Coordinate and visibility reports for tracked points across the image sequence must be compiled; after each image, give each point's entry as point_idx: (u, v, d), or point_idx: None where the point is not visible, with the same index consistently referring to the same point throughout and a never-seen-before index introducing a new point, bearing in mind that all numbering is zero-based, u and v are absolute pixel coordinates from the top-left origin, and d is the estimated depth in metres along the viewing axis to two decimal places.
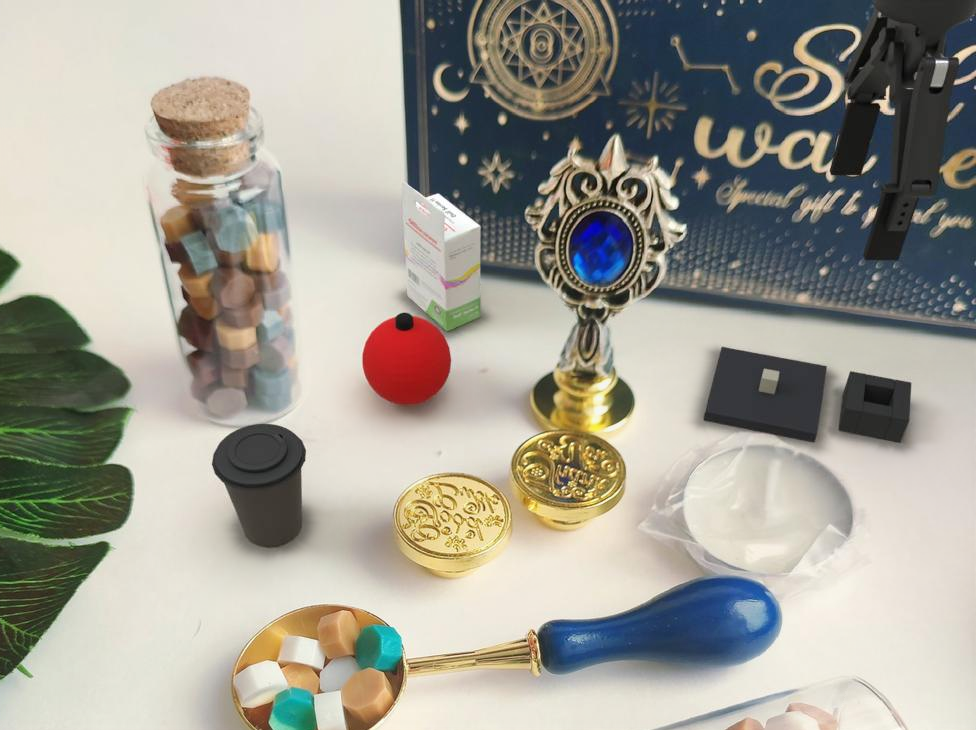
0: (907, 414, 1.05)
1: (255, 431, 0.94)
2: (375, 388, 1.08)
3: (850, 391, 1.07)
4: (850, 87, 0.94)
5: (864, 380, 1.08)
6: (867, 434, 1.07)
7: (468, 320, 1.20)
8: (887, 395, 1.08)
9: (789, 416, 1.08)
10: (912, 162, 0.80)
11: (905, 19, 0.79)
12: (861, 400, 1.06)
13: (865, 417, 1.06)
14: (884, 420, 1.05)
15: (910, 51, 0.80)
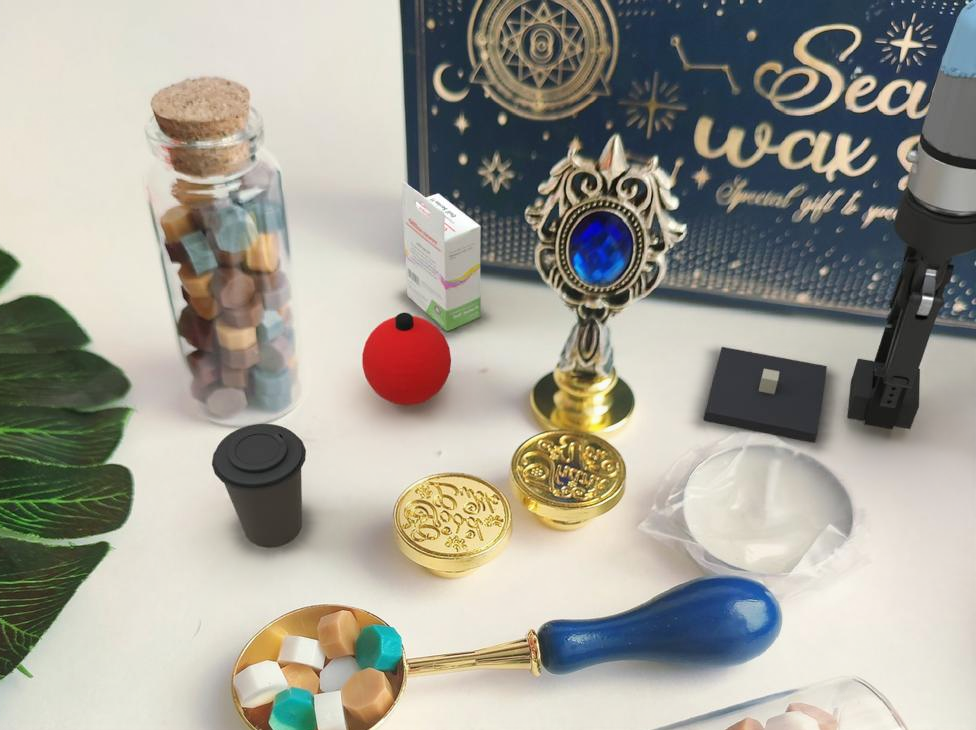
0: (917, 400, 1.04)
1: (255, 431, 0.94)
2: (375, 388, 1.08)
3: (858, 378, 1.06)
4: None
5: (872, 367, 1.07)
6: None
7: (468, 320, 1.20)
8: None
9: (789, 416, 1.08)
10: (894, 363, 0.96)
11: (911, 244, 0.92)
12: (870, 387, 1.05)
13: None
14: None
15: (916, 269, 0.93)
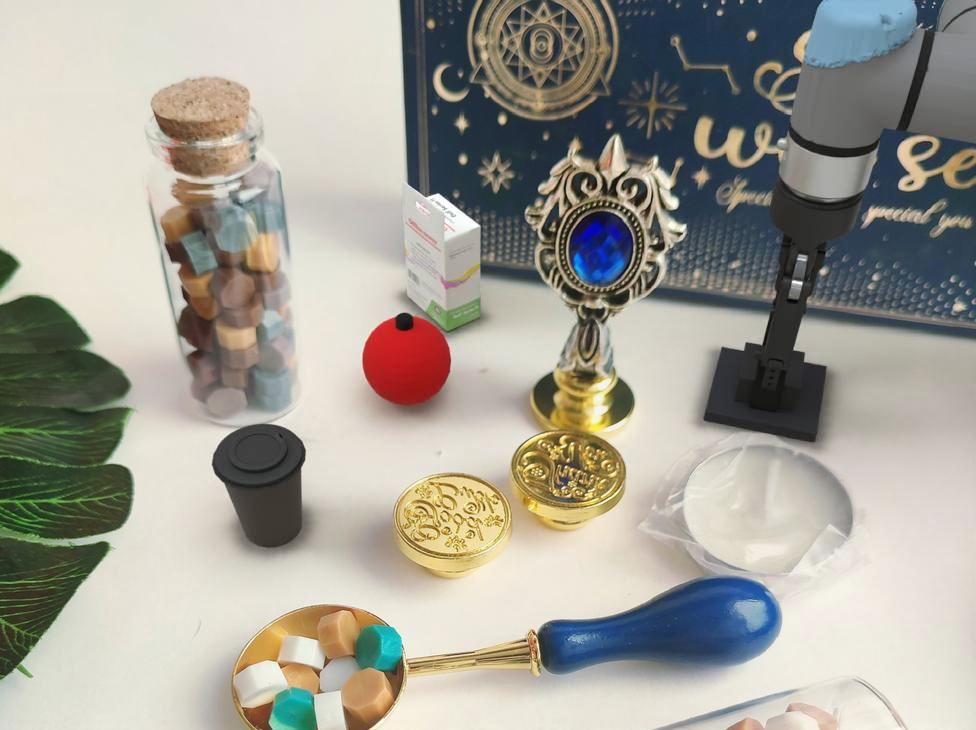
0: (799, 382, 1.06)
1: (255, 431, 0.94)
2: (375, 388, 1.08)
3: (744, 361, 1.09)
4: (775, 298, 1.08)
5: (759, 350, 1.10)
6: None
7: (468, 320, 1.20)
8: None
9: (789, 416, 1.08)
10: (769, 346, 0.99)
11: (783, 230, 0.94)
12: (755, 369, 1.08)
13: None
14: None
15: (789, 254, 0.96)
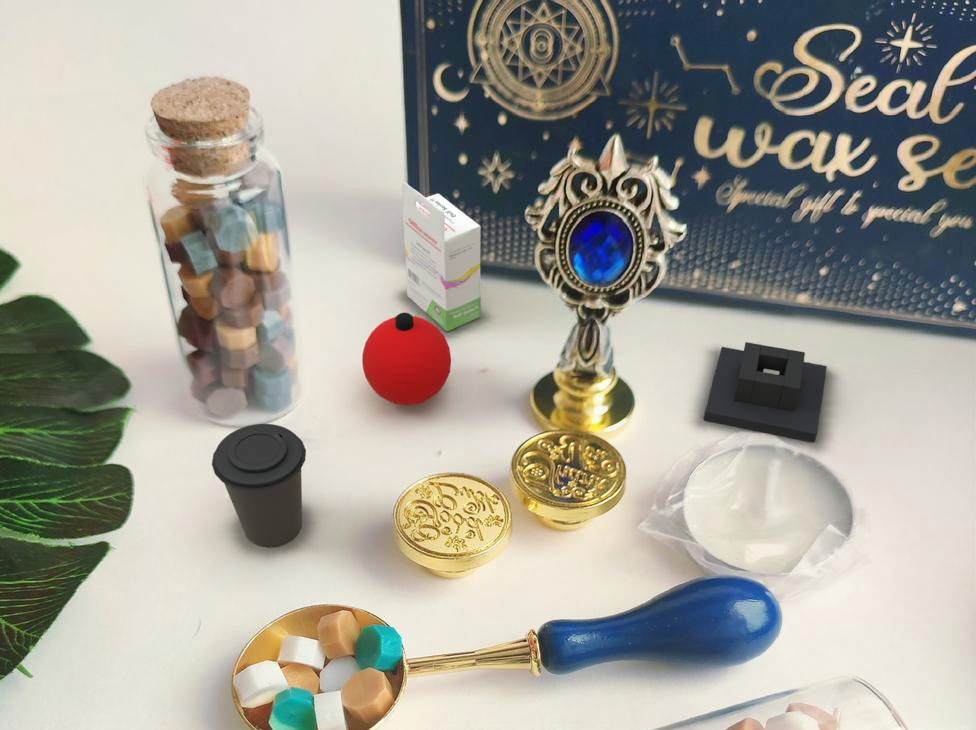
0: (798, 383, 1.06)
1: (255, 431, 0.94)
2: (375, 388, 1.08)
3: (744, 361, 1.09)
4: None
5: (759, 350, 1.10)
6: (761, 403, 1.08)
7: (468, 320, 1.20)
8: (781, 365, 1.10)
9: (789, 416, 1.08)
10: None
11: None
12: (754, 370, 1.08)
13: (758, 386, 1.07)
14: (776, 389, 1.07)
15: None
